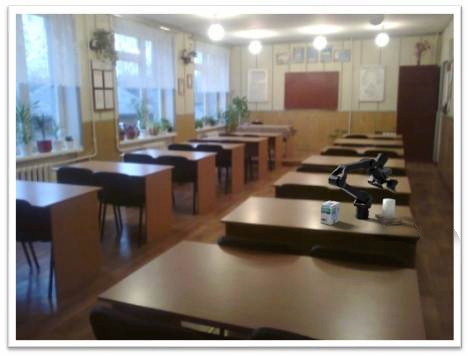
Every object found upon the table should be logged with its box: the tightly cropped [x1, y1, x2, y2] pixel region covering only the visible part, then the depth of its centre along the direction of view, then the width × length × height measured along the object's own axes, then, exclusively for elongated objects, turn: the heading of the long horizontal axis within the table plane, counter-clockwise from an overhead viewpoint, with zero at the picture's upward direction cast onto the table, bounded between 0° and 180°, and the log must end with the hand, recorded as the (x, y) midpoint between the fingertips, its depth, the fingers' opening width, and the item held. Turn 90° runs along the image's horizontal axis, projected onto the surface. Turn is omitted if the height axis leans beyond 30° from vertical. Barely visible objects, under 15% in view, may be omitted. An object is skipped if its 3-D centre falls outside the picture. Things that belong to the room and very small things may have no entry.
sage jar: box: [381, 198, 396, 219], centre depth 243 cm, size 6×6×10 cm
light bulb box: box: [320, 200, 341, 226], centre depth 241 cm, size 11×7×11 cm, turn 143°
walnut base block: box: [374, 213, 403, 225], centre depth 244 cm, size 10×14×2 cm
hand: (389, 190), depth 257 cm, fingers open, 9 cm apart
